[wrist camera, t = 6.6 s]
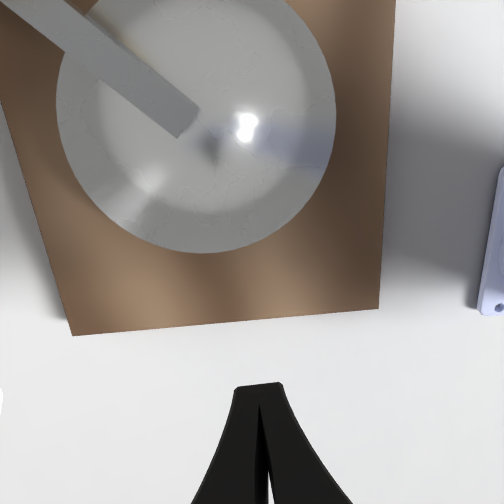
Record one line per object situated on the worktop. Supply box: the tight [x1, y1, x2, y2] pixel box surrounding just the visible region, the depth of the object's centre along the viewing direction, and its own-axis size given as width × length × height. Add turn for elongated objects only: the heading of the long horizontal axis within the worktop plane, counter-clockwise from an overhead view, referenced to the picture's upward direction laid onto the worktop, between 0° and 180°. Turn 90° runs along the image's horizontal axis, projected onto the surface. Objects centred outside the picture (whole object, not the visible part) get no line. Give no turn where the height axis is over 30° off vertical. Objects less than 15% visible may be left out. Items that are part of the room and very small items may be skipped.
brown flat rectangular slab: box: [0, 0, 396, 336], centre depth 17 cm, size 15×19×2 cm
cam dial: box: [0, 0, 336, 253], centre depth 14 cm, size 15×10×5 cm
